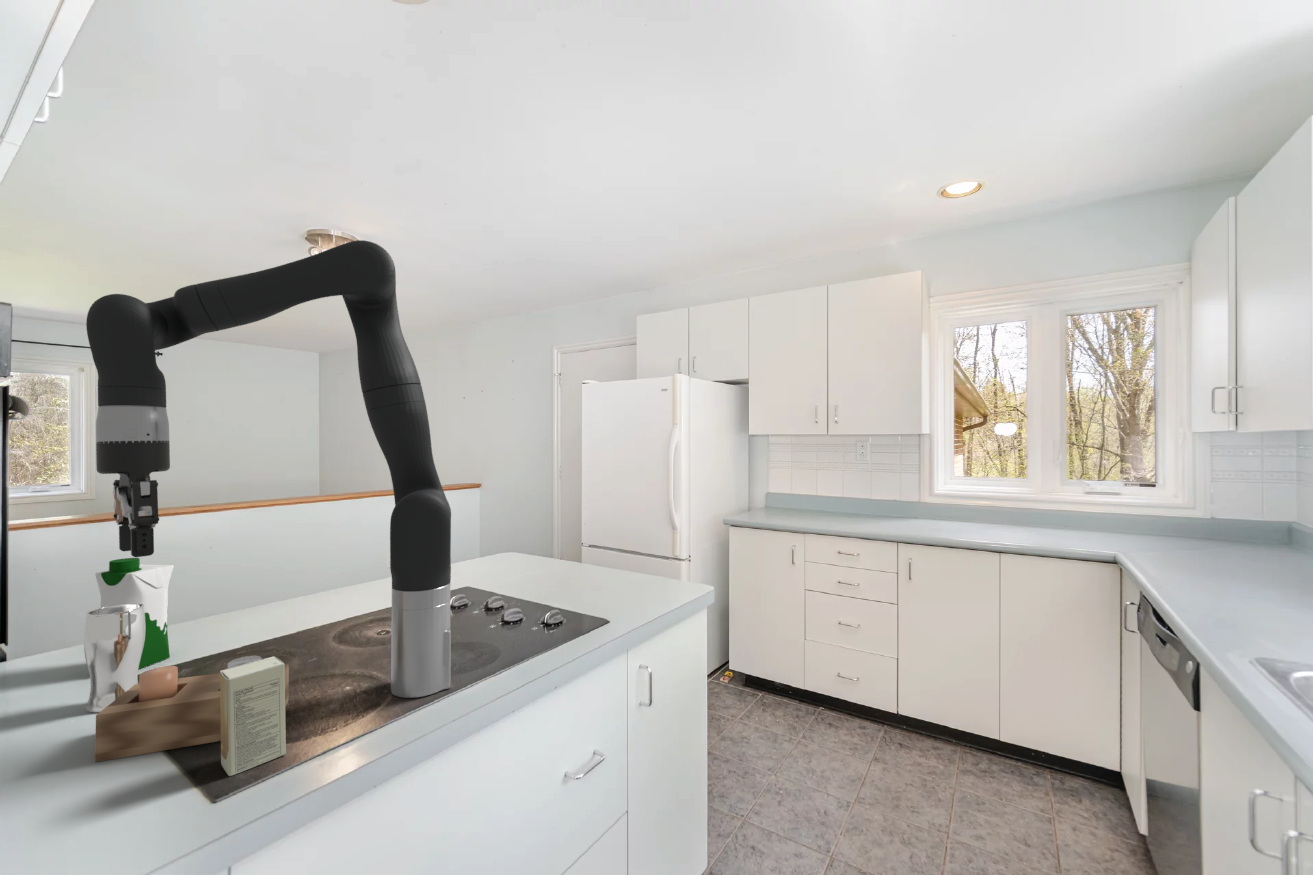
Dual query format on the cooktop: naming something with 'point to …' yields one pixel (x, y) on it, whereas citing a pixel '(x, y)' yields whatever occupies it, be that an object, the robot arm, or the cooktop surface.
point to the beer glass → (113, 651)
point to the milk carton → (141, 600)
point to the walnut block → (162, 719)
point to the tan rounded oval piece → (158, 683)
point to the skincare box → (252, 714)
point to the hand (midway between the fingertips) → (136, 553)
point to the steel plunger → (243, 661)
